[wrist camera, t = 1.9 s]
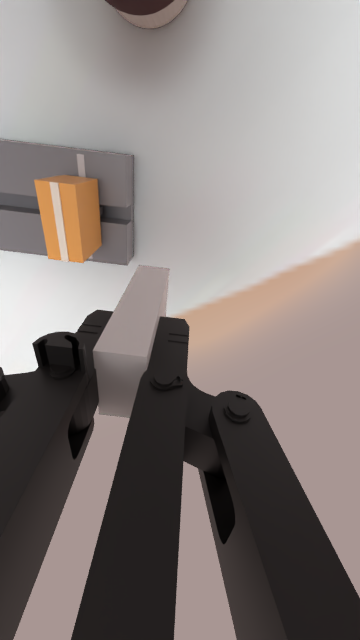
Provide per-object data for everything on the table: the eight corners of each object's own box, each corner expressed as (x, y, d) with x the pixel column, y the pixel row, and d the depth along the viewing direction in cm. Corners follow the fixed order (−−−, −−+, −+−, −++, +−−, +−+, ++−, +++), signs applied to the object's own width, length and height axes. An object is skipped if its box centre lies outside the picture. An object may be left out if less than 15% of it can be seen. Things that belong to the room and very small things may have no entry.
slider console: (-116, 125, 25) (-152, 121, 22) (133, 155, 25) (125, 155, 22) (-71, 231, 30) (-97, 238, 28) (133, 256, 30) (126, 265, 28)
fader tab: (73, 173, 25) (33, 179, 19) (104, 176, 25) (74, 185, 19) (80, 236, 28) (47, 259, 22) (107, 239, 28) (82, 263, 22)
